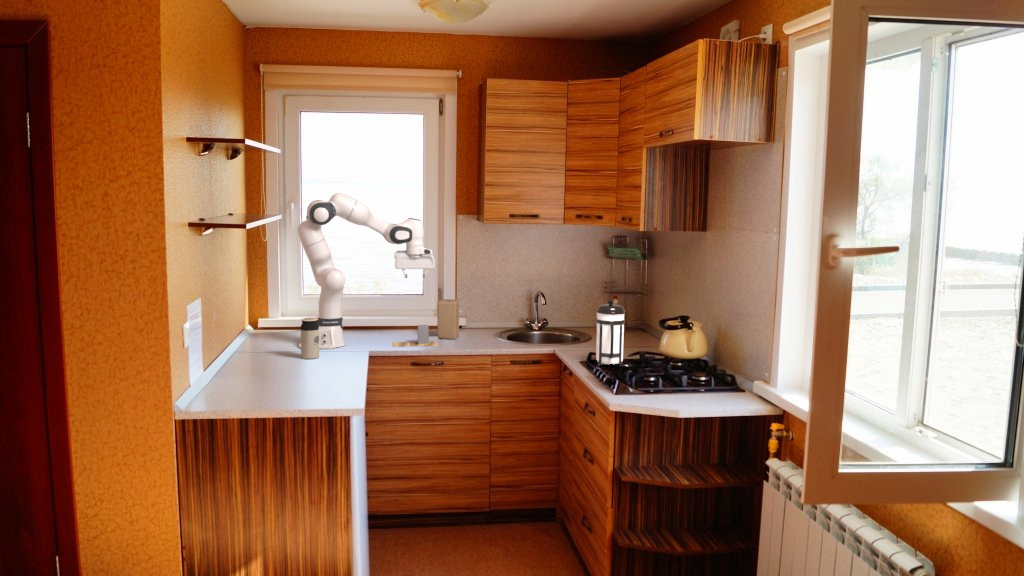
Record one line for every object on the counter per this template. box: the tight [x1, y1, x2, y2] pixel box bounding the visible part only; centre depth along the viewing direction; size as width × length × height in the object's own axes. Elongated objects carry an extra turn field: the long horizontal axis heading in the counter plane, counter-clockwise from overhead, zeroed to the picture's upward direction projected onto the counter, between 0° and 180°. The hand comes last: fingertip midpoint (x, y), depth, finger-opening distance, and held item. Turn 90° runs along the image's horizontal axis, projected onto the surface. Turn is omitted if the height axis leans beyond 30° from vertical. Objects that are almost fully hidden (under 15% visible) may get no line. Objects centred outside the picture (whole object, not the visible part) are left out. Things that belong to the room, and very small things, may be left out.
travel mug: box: [300, 317, 320, 360], centre depth 349 cm, size 8×8×18 cm
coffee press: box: [595, 298, 626, 366], centre depth 338 cm, size 17×16×30 cm
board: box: [391, 340, 439, 348], centre depth 377 cm, size 22×12×2 cm, turn 101°
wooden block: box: [436, 298, 460, 340], centre depth 402 cm, size 10×10×20 cm
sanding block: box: [417, 324, 430, 345], centre depth 378 cm, size 5×5×9 cm
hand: (415, 277), depth 387 cm, fingers open, 8 cm apart
